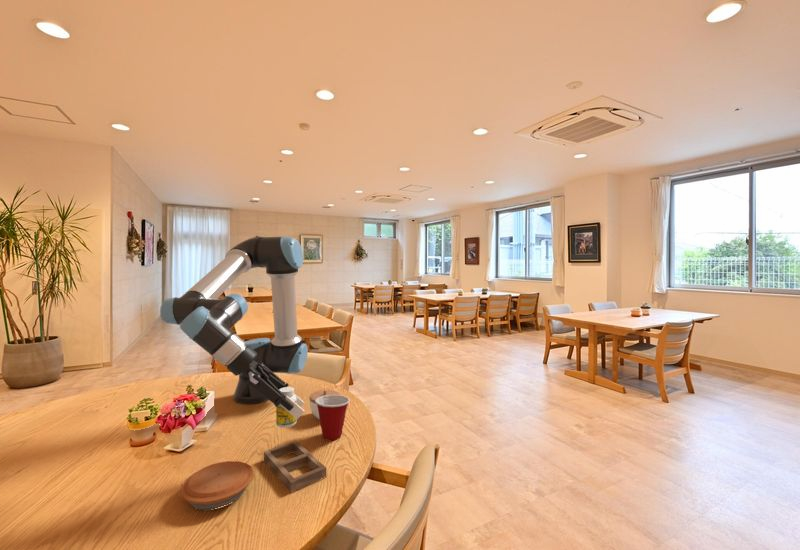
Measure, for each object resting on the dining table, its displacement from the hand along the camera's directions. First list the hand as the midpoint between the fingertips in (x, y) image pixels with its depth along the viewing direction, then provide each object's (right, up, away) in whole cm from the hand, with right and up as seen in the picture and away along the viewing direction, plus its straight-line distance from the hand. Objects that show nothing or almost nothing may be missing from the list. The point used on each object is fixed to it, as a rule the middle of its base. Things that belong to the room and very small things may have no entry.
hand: (300, 410), depth 98 cm
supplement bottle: (-4, -4, -1) cm, 5 cm away
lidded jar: (+1, -13, +28) cm, 31 cm away
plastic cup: (+6, -14, +15) cm, 21 cm away
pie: (-16, -15, -14) cm, 26 cm away
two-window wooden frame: (-1, -14, -3) cm, 15 cm away
